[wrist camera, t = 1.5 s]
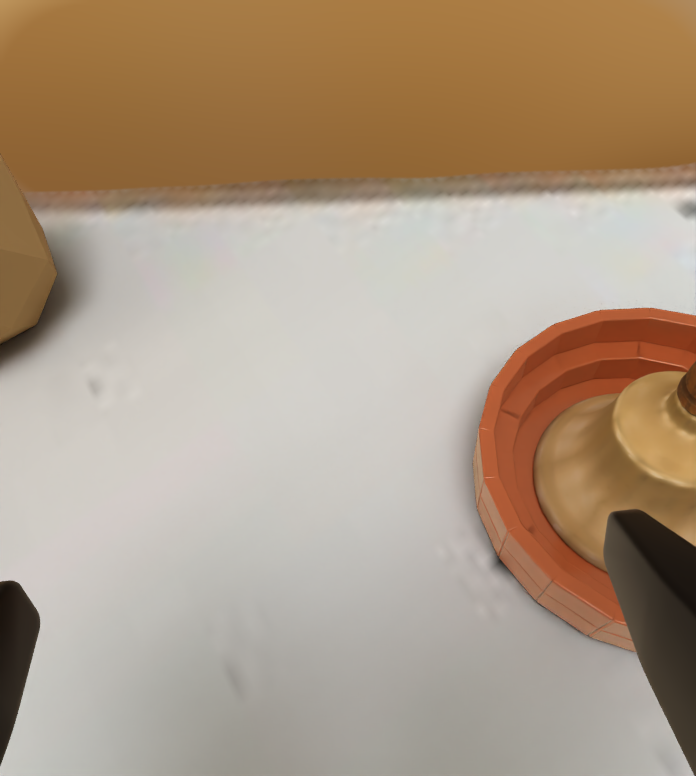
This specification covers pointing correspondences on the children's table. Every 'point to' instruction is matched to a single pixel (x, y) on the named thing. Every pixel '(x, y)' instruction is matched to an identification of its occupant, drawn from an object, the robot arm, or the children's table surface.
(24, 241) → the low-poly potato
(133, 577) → the children's table surface
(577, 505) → the hand bell
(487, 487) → the bowl
